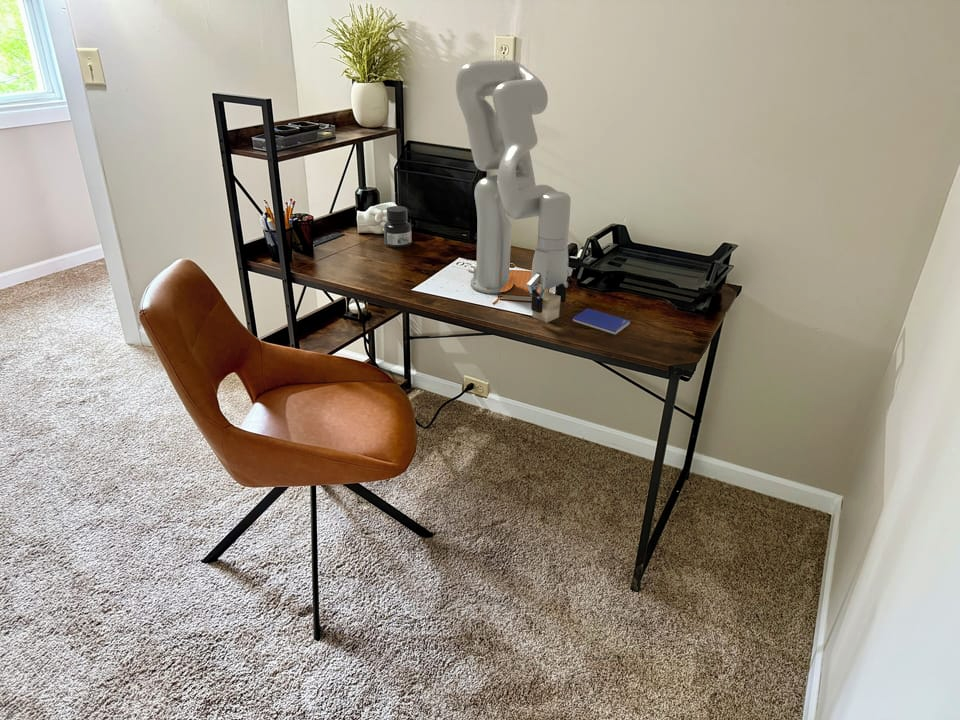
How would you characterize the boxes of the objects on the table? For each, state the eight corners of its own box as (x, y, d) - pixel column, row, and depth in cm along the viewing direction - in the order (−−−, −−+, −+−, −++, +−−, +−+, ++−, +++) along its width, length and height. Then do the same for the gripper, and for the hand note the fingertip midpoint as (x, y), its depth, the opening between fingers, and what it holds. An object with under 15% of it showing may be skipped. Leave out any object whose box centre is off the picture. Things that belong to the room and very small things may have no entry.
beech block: (532, 316, 177) (533, 295, 174) (544, 311, 180) (545, 290, 177) (546, 322, 174) (548, 301, 171) (558, 317, 177) (560, 296, 174)
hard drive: (630, 320, 174) (588, 307, 180) (616, 330, 168) (573, 317, 174) (629, 325, 175) (587, 312, 181) (615, 336, 169) (572, 322, 175)
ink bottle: (388, 250, 218) (386, 214, 213) (380, 241, 225) (378, 206, 220) (416, 246, 222) (415, 211, 216) (407, 238, 229) (406, 203, 223)
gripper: (561, 232, 174) (557, 293, 182) (518, 246, 163) (515, 311, 171) (585, 238, 170) (580, 301, 178) (542, 253, 159) (538, 319, 167)
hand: (548, 306), depth 174 cm, fingers open, 9 cm apart
